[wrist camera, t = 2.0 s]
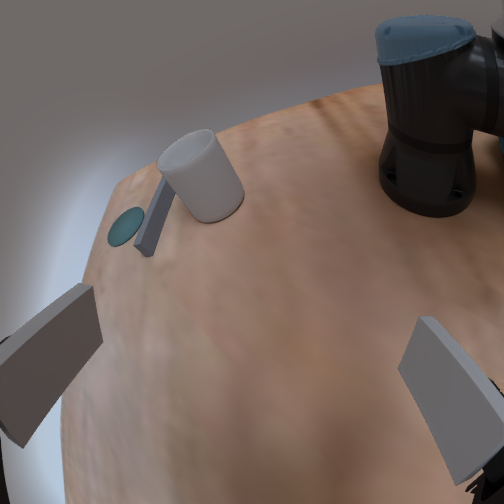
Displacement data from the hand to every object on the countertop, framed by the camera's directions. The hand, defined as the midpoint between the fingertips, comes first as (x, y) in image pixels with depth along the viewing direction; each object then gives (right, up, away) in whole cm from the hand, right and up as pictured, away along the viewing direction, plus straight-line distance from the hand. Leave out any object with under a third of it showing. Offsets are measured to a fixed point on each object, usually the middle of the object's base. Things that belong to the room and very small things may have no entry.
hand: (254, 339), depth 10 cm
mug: (-7, +11, +36) cm, 38 cm away
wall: (-16, +10, +39) cm, 44 cm away
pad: (-26, +8, +43) cm, 51 cm away
